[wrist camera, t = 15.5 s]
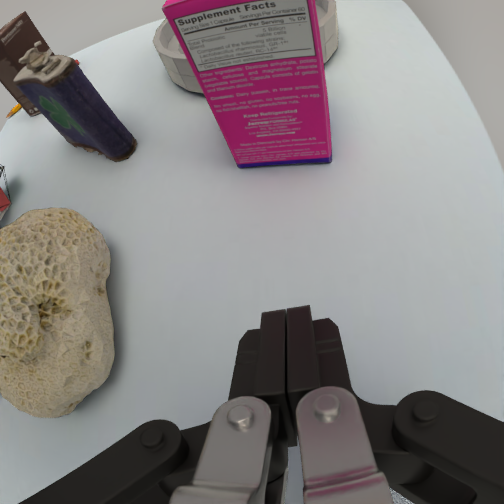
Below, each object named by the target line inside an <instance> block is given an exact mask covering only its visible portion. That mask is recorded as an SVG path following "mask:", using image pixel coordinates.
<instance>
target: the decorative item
mask: <svg viewBox="0 0 504 504" xmlns="http://www.w3.org/2000/svg"><path fill="white" fill-rule="evenodd" d="M110 261H111V257H110V251H109V249H108V247H107V245H106V242H105V239H104V237H103V235H102V234H101V233H100V232H99V231H98V230H97V229H96V228H95V227H94V226H93V224H92V223H90V222H89V221H88V220H87V219H86V218H84V217H83V216H82V215H80V214H79V213H78V212H76V211H74V210H71V209H67V208H48V209H38V210H31V211H28V212H26V213H24V214H23V215H22V216H21V217H19V218H18V219H17V220H16V221H15V222H13V223H11V224H9V225H6V226H5V227H3V228H1V229H0V392H1V394H2V397H3V398H5V399H6V400H8V401H9V402H10V403H11V404H12V405H13V406H15V407H16V408H17V409H18V410H20V411H23V412H26V413H28V414H30V415H32V416H34V417H40V418H57V417H61V416H63V415H67V414H69V413H71V412H72V411H74V409H75V407H76V405H77V404H79V403H80V402H82V401H83V398H84V397H86V395H88V394H90V393H91V392H92V390H94V389H98V388H99V387H100V386H101V385H102V384H103V383H104V382H105V380H106V379H107V377H108V376H109V374H110V370H111V367H112V364H113V361H114V355H115V352H114V342H113V335H114V327H113V322H112V318H111V309H110V306H109V302H108V297H107V291H106V286H105V285H106V279H107V278H108V276H109V275H110Z"/></svg>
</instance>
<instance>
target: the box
mask: <svg viewBox="0 0 504 504" xmlns="http://www.w3.org/2000/svg"><path fill="white" fill-rule="evenodd" d="M39 41H41V43H42V44H41V45H38V46H37V47H35V46H34V44H35V43H36V42H39ZM32 48H37V49H38V51H39V52H47V53H49V54H50V56H54V53H53V52H52V50H51V49H50V48H49V46H48V45H47V43H46V42H45V40H44V39H43V37H42V36H41V34H40V33H39V32H38V30H37V28H36V27H35V25H34V24H33V22H32V21H31V19H30V18H29V16H28V15H27V13H26V12H23V13H22V14H20V15H19V16H17V17H16V18H14V19H13V20H11V21H10V22H8V23H7V24H6V25H5V26H4V27H3V28H2V29H1V30H0V82H1V83H2V84H3V85H4V86H5V88H6V89H7V90H8V91H9V92H10V94H11V95H12V96H13V97H14V98H15V99H16V100H17V102H18V103H19V104H20V105H21V106H22V107H23V109H24V110H25V111H26V112H27V113H28V114H29V115H30V116H35V115H36V114H39V113H41V112H40V111H39V110H38V109H37V108H36V106H35V105H34V104H33V103H32V102H31V101H30V100H29V99H28V98H27V97H26V96H25V95H24V94H23V93H22V91H21V90H20V89H19V88H17V86H16V85H15V84H14V82H13V80H14V79H15V77H16V76H17V74H18V73H19V72H20V71H21V70H22V69H23V68H24V67H25V66H26V64H27V63H25V64H21V63H19V59H20V58H22V57H24V56H25V54H26V52H27V51H28V50H30V49H32Z"/></svg>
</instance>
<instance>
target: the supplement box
mask: <svg viewBox="0 0 504 504" xmlns="http://www.w3.org/2000/svg"><path fill="white" fill-rule="evenodd" d="M162 10H163V12H164V14H165V16H166V18H167V20H168V22H169V24H170V26H171V28H172V30H173V32H174V34H175V36H176V38H177V40H178V42H179V44H180V46H181V48H182V50H183V52H184V54H185V56H186V58H187V60H188V62H189V64H190V66H191V68H192V71H193V73H194V75H195V77H196V79H197V81H198V83H199V85H200V87H201V89H202V91H203V93H204V95H205V97H206V100H207V102H208V104H209V106H210V108H211V110H212V112H213V114H214V116H215V118H216V121H217V123H218V125H219V127H220V129H221V131H222V133H223V135H224V138H225V140H226V142H227V144H228V146H229V148H230V150H231V153H232V155H233V157H234V159H235V161H236V164H237V166H238V167H239V168H244V167H255V166H267V165H281V164H299V163H330V162H331V160H332V148H331V132H330V119H329V108H328V96H327V87H326V79H325V71H324V63H323V55H322V47H321V39H320V31H319V24H318V18H317V11H316V5H315V0H167V1H166V2H165V4H164V5H163V7H162Z"/></svg>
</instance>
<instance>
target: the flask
mask: <svg viewBox="0 0 504 504" xmlns="http://www.w3.org/2000/svg"><path fill="white" fill-rule="evenodd" d="M41 44H42V43H41V41H39V42H36V43H35V44H34V46H35V47H37V46H38V45H41ZM19 63H21V64H25V63H27V64H26V66H25V67H24V68H23V69H22V70H21V71H20V72H19V73H18V74H17V76H16V77H15V79H14V80H13V82H14V84H15V85H16V86H17V88H19V89H20V90H21V91H22V93H23V94H24V95H25V96H26V97H27V98H28V99H29V100H30V101H31V102H32V103H33V104H34V105H35V106H36V108H37V109H38V110H39V111H40V112H41V113H42V114H43V115H44V116H45V117H46V118H47V119H48V120H49V122H50V123H51V124H52V125H53V126H54V127H55V128H56V129H57V130H58V132H59V133H60V134H61V135H62V136H64V138H65V139H66V141H67V142H69V143H70V144H72V145H73V146H74V147H77V146H80V147H83V149H84V150H87V152H88V151H89V152H94V151H97V152H99V154H98V155H101V154H104V155H105V156H106V157H107V158H109V159H110V160H113V161H114V162H117V161H121V160H124V159H128V158H129V156H130V155H131V154H132V153H133V151H134V150H135V148H136V145H137V142H136V139H134V137H133V136H132V134H131V133H130V132H129V131H128V130H127V129H126V128H125V126H124V125H123V124H122V123H121V122H120V120H119V119H118V118H117V117H116V115H115V114H114V113H113V111H112V110H111V109H110V108H109V106H108V105H107V104H106V103H105V101H104V100H103V99H102V97H101V96H100V94H99V93H98V92H97V91H96V89H95V88H94V87H93V85H92V84H91V82H90V81H89V80H88V79H87V77H86V76H85V75H84V73H83V72H82V70H81V69H80V68H79V66H78V64H77V63H76V62H75V60H74V59H73V58H70V57H67V56H63V55H54V56H50V54H49V53H47V52H39V51H38V49H37V48H32V49H30V50H28V51H27V52H26V54H25V56H24V57H22V58H20V59H19ZM107 158H106V159H107Z"/></svg>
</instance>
